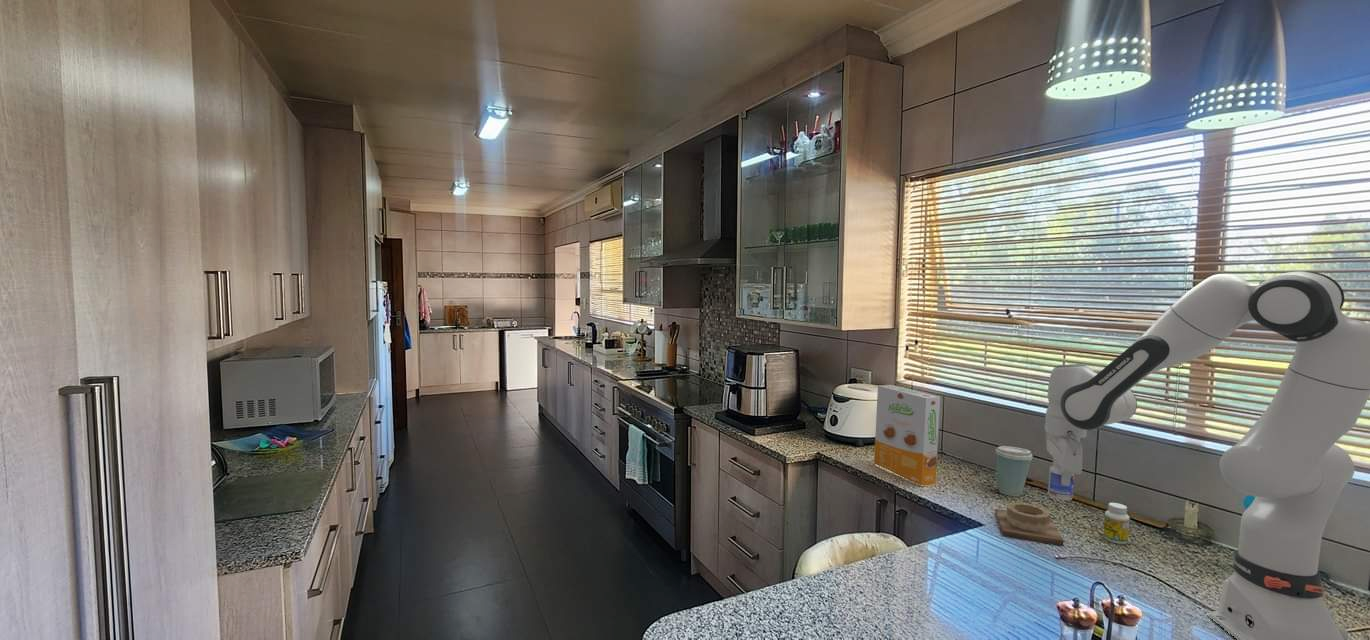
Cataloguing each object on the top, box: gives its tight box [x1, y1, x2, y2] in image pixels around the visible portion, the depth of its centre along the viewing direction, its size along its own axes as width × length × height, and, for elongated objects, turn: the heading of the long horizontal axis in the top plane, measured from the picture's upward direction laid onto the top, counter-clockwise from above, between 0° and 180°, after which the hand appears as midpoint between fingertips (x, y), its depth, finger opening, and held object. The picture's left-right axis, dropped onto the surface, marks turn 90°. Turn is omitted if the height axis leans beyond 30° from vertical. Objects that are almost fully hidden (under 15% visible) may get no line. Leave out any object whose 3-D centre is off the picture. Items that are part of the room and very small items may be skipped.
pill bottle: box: [1047, 457, 1075, 501], centre depth 146 cm, size 5×5×10 cm
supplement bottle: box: [1102, 502, 1131, 545], centre depth 154 cm, size 5×5×10 cm
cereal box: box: [873, 384, 941, 485], centre depth 201 cm, size 22×6×30 cm, turn 24°
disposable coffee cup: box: [994, 445, 1034, 498], centre depth 187 cm, size 11×11×15 cm
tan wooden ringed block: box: [994, 502, 1065, 547], centre depth 160 cm, size 16×14×6 cm
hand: (1061, 480), depth 146 cm, fingers closed on pill bottle, 5 cm apart
